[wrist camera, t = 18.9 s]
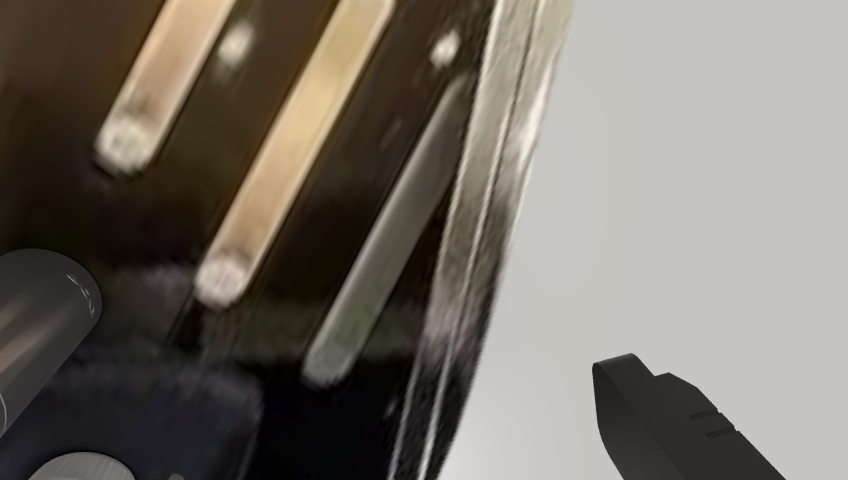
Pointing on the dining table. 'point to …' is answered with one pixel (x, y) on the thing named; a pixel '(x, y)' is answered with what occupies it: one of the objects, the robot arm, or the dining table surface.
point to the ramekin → (83, 468)
